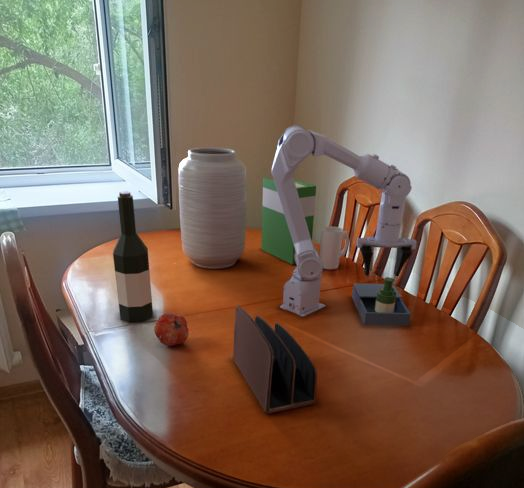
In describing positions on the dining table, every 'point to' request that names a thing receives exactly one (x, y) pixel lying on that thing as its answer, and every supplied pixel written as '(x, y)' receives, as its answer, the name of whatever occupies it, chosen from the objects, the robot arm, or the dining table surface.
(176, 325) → the pomegranate
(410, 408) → the dining table surface
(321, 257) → the mug
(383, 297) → the bottle
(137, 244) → the wine bottle
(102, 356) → the dining table surface
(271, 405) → the letter holder
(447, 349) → the dining table surface
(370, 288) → the flap
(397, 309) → the tray
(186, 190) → the vase
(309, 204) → the hardback book
